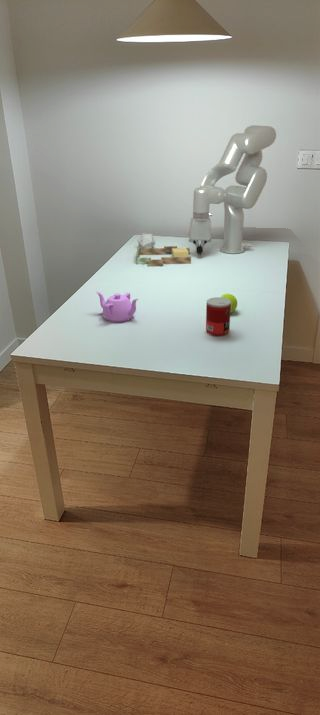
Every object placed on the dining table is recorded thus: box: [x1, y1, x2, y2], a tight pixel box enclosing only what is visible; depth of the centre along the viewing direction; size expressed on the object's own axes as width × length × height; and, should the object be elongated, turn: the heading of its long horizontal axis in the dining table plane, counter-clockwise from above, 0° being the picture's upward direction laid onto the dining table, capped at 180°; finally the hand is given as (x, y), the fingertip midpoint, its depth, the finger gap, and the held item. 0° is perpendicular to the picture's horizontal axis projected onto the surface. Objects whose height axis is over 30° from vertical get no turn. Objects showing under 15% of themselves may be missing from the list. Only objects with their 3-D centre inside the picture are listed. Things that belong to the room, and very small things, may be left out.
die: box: [136, 233, 156, 249], centre depth 266 cm, size 8×9×10 cm
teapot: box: [95, 291, 139, 323], centre depth 185 cm, size 12×14×9 cm
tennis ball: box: [220, 293, 238, 314], centre depth 188 cm, size 7×7×7 cm
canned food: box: [205, 296, 231, 337], centre depth 172 cm, size 8×8×11 cm
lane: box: [135, 245, 192, 267], centre depth 250 cm, size 26×23×4 cm
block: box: [171, 247, 189, 257], centre depth 250 cm, size 7×7×4 cm
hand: (199, 254), depth 249 cm, fingers closed
